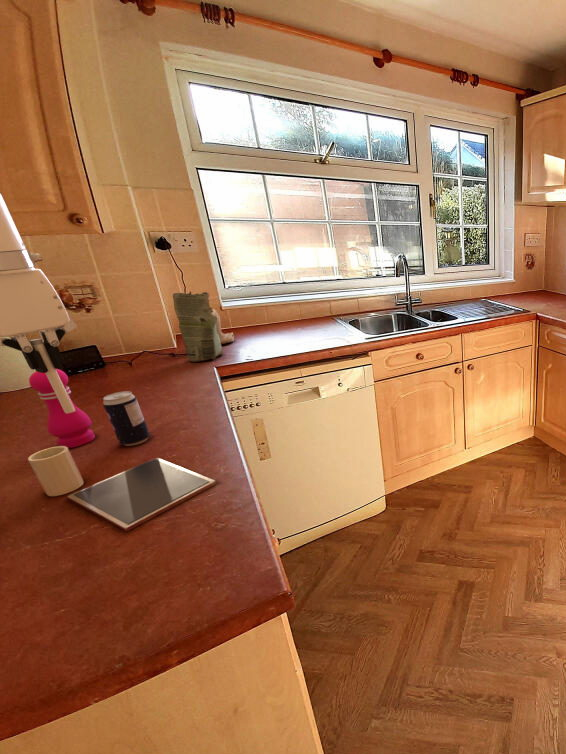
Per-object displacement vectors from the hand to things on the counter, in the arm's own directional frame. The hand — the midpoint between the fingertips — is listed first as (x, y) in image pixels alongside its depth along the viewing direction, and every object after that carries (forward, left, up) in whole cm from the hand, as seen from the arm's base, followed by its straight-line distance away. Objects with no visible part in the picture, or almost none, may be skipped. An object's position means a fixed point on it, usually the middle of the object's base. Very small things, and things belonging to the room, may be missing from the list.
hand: (49, 369), depth 75 cm
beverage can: (+12, +14, -25) cm, 31 cm away
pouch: (+58, +64, -25) cm, 90 cm away
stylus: (0, 0, -9) cm, 9 cm away
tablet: (+2, -11, -25) cm, 27 cm away
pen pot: (-4, +5, -25) cm, 25 cm away
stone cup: (+70, +79, -25) cm, 109 cm away
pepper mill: (+6, +27, -25) cm, 37 cm away
